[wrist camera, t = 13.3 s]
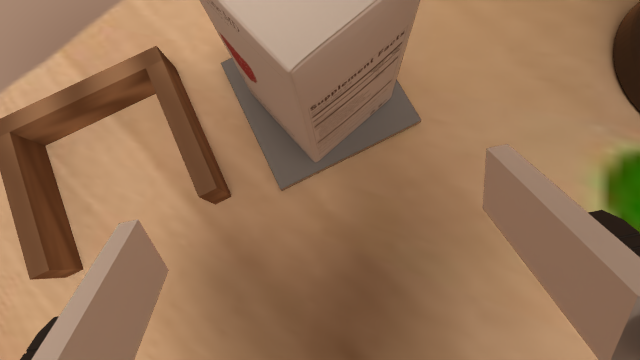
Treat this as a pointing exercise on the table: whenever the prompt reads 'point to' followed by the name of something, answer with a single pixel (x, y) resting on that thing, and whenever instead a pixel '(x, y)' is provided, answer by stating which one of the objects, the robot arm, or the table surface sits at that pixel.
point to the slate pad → (289, 156)
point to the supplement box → (316, 60)
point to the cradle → (71, 115)
